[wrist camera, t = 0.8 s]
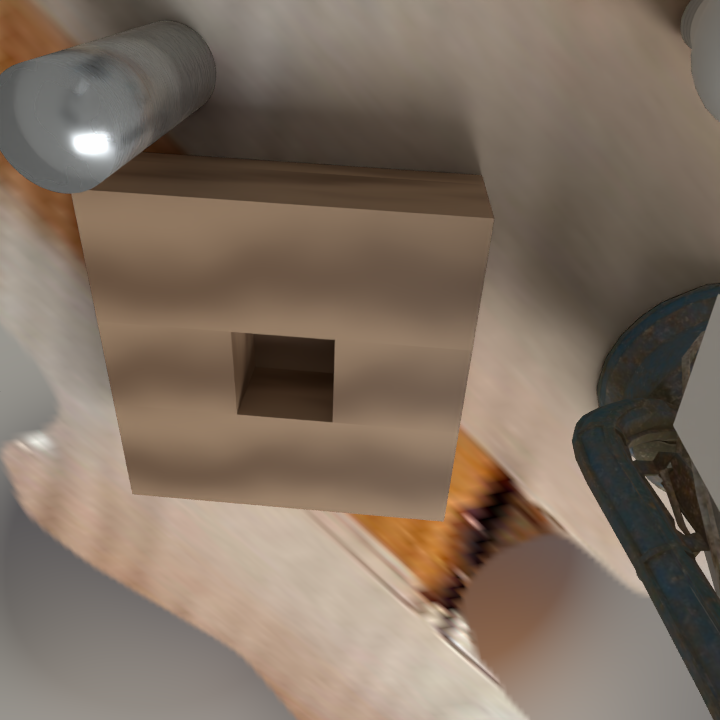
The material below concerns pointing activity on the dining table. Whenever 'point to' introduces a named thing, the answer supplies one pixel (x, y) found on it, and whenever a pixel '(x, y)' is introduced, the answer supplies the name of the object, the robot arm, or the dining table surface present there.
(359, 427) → the walnut block
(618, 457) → the lantern
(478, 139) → the dining table surface
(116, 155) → the pin
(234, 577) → the dining table surface
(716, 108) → the lightbulb
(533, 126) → the dining table surface
